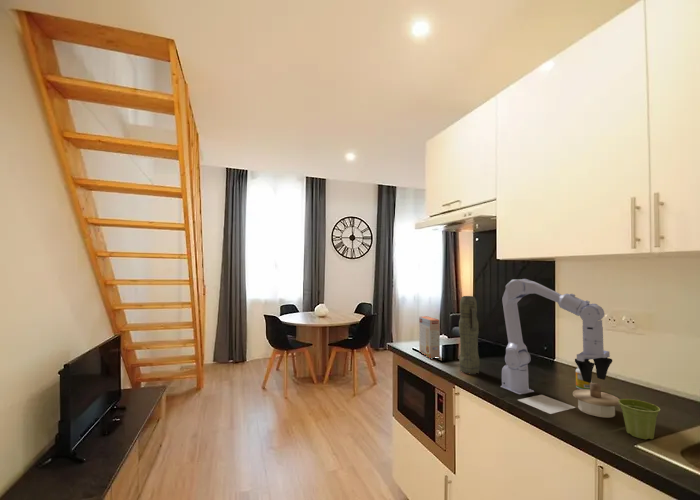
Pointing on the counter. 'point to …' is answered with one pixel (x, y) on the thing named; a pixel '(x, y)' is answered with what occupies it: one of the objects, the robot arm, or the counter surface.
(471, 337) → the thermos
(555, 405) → the mat
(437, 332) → the cracker box
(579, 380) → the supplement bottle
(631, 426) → the plant pot
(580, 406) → the bowl
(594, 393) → the lid
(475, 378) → the counter surface
